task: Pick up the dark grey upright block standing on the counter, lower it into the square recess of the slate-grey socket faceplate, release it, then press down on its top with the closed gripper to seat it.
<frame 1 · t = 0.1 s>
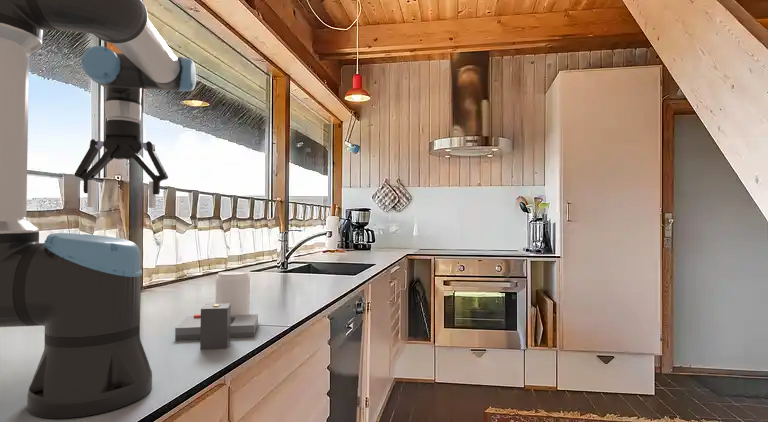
hand: (122, 207, 111), 28 cm above the table, fingers open, 13 cm apart
dark grey upright block: (215, 345, 92), on the table
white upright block: (232, 321, 113), on the table
socket faceplate: (219, 331, 102), on the table
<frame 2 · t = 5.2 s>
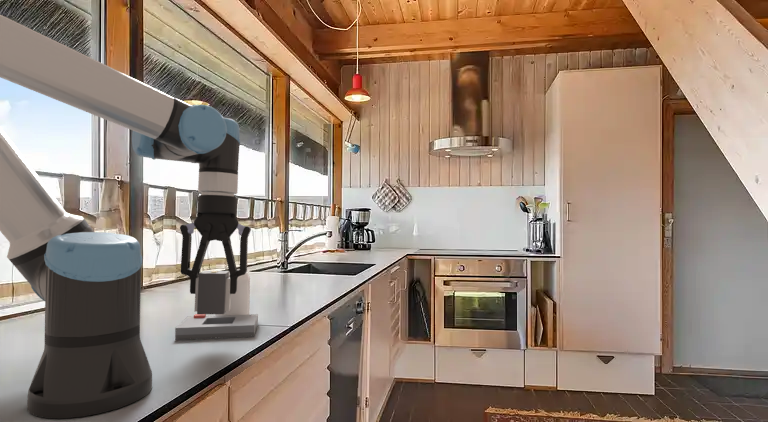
hand: (212, 309, 91), 7 cm above the table, fingers closed on dark grey upright block, 5 cm apart
dark grey upright block: (212, 311, 91), point 7 cm above the table, touching gripper
everything else where it was.
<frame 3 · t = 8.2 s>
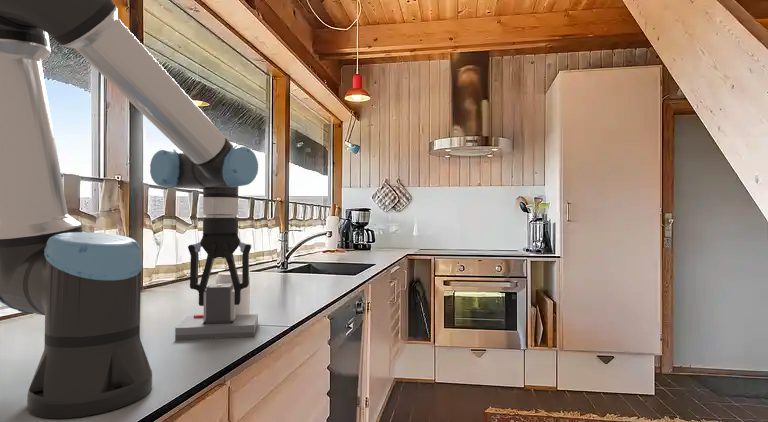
hand: (219, 319, 102), 3 cm above the table, fingers closed on dark grey upright block, 5 cm apart
dark grey upright block: (219, 320, 102), point 2 cm above the table, touching gripper
everything else where it was.
when the fingers open (3 cm above the table, at t = 9.4 s): dark grey upright block drops 1 cm, resting on socket faceplate.
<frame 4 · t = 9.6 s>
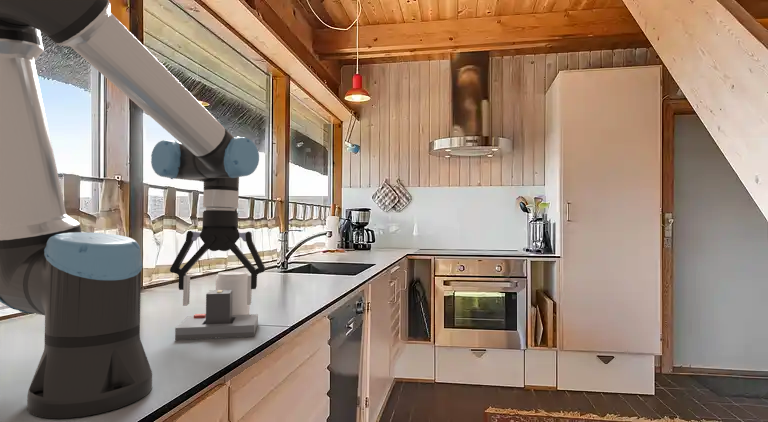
hand: (218, 304, 102), 6 cm above the table, fingers open, 13 cm apart
dark grey upright block: (219, 327, 102), point 1 cm above the table, touching socket faceplate
everything else where it was.
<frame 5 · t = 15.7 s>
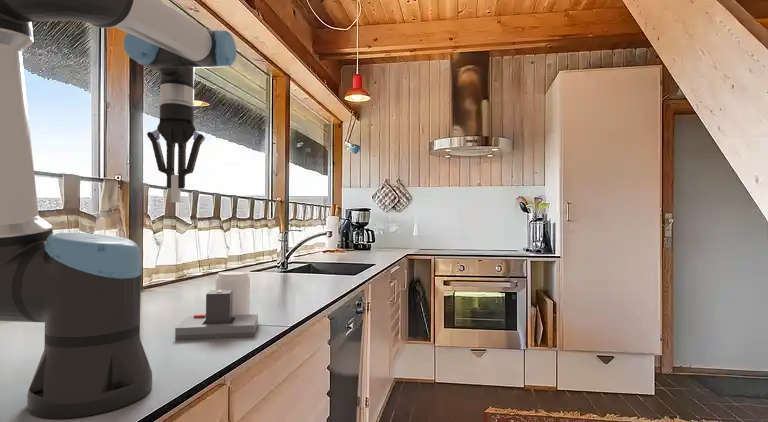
hand: (175, 202, 110), 29 cm above the table, fingers closed
nothing on the table moved.
at the end: dark grey upright block 0.1 cm off-centre on the socket faceplate, point 1.0 cm above the socket faceplate's base; dark grey upright block tilted 0°; the gripper is holding nothing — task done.
